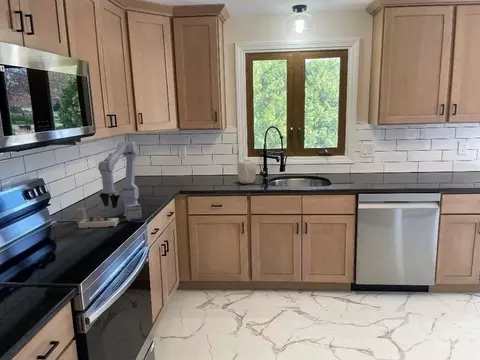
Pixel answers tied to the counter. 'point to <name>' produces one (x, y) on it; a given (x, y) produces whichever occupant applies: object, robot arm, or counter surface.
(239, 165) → the white faceted vase
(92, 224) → the power strip
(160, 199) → the counter surface
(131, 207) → the medicine box
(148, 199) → the counter surface
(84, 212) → the grey cord holder
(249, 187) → the counter surface
